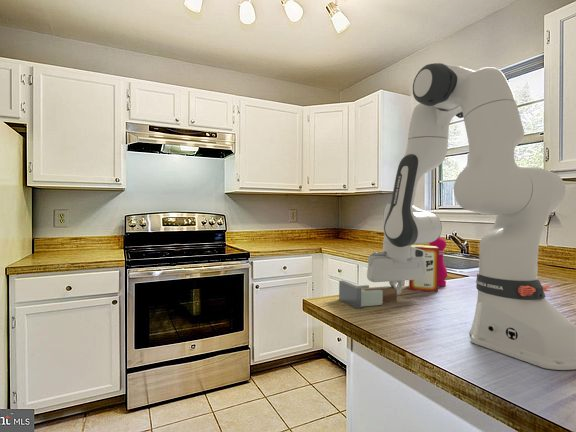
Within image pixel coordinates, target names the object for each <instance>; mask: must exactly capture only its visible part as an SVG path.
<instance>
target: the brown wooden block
mask: <svg viewBox="0 0 576 432" xmlns="http://www.w3.org/2000/svg"><path fill="white" fill-rule="evenodd" d="M361 289H363V290H366V291H369V290H383V302H382V304H383V303H384V304H385V303H393V302H394V303H395V302H397V299H398V297H397V296H398V295H397V289H396V288H393V287H391V286H390V285H388V286H375V287H369V288H361Z"/></svg>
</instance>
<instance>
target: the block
mask: <svg viewBox="0 0 576 432" xmlns="http://www.w3.org/2000/svg"><path fill="white" fill-rule="evenodd" d="M354 285H355V286H358V287H360V288H370V285H369V284H354ZM382 302H383V290H369V291H366V290H363V289H361V308H363V307H370V306H371V307H372V306H381V305H383V303H382Z"/></svg>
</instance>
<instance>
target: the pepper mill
mask: <svg viewBox="0 0 576 432" xmlns="http://www.w3.org/2000/svg"><path fill="white" fill-rule="evenodd" d="M428 244H429V245H428V246H437V247H438V248H439V267H438V286H444V287H446V286H447V281H446V280H445V279H447V277H448V270H447V268H446V266H445V263H444V255H445V254H446V253H445V249H446V247H447V242H446V240H445V239H444V238H442V237H441V235H440V236H439V238H438V239H437V240H435V241H433V242H430V243H428Z"/></svg>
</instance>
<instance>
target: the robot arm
mask: <svg viewBox="0 0 576 432" xmlns="http://www.w3.org/2000/svg"><path fill="white" fill-rule="evenodd" d="M510 85H511V84H510V83H509V81H508V80H507V78H506V76H505V74H504V73H503V72H502V71H501V70H500V69H499V68H496V67H492V66H491V67H488V66H487V67H482V68H479V69H477V70H473V69H469V68H466V67H463V66H460V65H453V64H445V63H442V62H441V63H440V62H437V63H435V62H434V63H428V64H426V65H424V66H423V67H422V68H420V70H419V71H418V72H417V74H416V75H415V77H414V79H413V83H412V94H413V98H414V99H415V101H416V102H418V104H417V105H416V106H415V107H414V109H413V110H412V113H411V118H410V122H409V128H408V135H407V145H406V150H405V154H404V156H403V157H402V159H400V161H399V164H398V166H397V170H396V176H395V180H394V185H393V191H392V195H391V201H390V202H389V203H387V204H386V206H385V208H384V212H383V220H382V222H383V227H382V228H383V233H384V236H383V239H382V251H377V252H375V251H372V253H371V254H369V255H368V258H367V259H368V262H367V271H366V279H367V280H368V281H369V282H372V283H383V282H384V283H385V282H388V283H389V286H390V287H393V288H396V289H397V296H398V295H401V294H402V289H403V287H404V285H405V281H409V280H418V279H424V278H425V277H426V261H425V259H424V258H423V257H425V251H424V250H421V249H418V248H415V247H412V245H425V244H429V243H430V242H433V241H435V240H437V239H438V238H439V236H440V237H441V233H442V230H443V228H442V226H443V225H442V222H441V220H440V218H439V217H438V215H436V214H435V213H433V212H430V211H427V210H423V209H421V208H419V207H416V205H414V204H415V203H414V202H415V197H416V191H417V186H418V184H419V181H420V179H421V178H422V177H423V176H424V175H426V173H429V172H430V171H433V170H436V168H438V167H439V166H440V165H441V164H442V163H444V161H445V160H446V156H447V153H448V147H449V134H450V133H449V132H450V131H449V130H450V123H451V121H452V119H454V117H457V118H458V119H462V118H463V121H464V122H463V123H464V126H465V132H466V135H467V136H466V137H467V141H468V149H469V151H468V152H469V153H468V158H467V163H466V166H465V167H464V169H463V170H461V171H460V173H459V174H458V175H457V176H456V179H455V181H454V185H453V194H454V195H453V196H454V198H455V201H456V202H457V204H458V206H459V207H460V208H461V209H464V210H466V211H470V212H473V213H477V214H481V215H496V219H495V221H494V223H493V225H492V228H491V229H490V230H489V232H487V233H486V234H484V235H483V236H482V237H481V239H480V241H479V249H478V251H479V252H478V254H479V255H478V273H477V274H476V280H475V283H476V287H475V288H476V289H477V299H476V304H475V305H476V307H475V311H474V316H473V322H472V325H471V328H470V330H469V335H470V342H471V343H472V344H475V345H477V346H481V347H483V348H487V349H489V350H491V351H494V352H498V353H500V354H503V355H506V356H508V357H512V358H515V359H517V360H520V361H524V362H526V363H529V364H531V365H535V366H537V367H540V368H543V369H547V370H548V369H549V370H554V371H555V370H556V371H557V370H559V371H567V370H568V371H569V370H570V371H571V370H576V325H575V323H573V322H572V321H571V320H569V319H568V318H567V317H566V316H565V315H564V314H563V313H562V312H560V311H559V310H558V309H557V308H556V307H555V306H554V305H553V304H552V303H551V302H550V301H549V300H547V298H546V294H545V292H550V291H551V289H549V288H551V285H542V283H541V281H540V279H539V278H538V264H539V263H538V262H539V261H538V260H539V247H540V241H541V237H542V234H543V231H544V228H545V226H546V223H547V221H548V218H549V217H550V215H551V214H552V212H553V211H554V210H555V209H557V207H558V206H559V205H561V203H562V202H563V200H564V197H565V195H566V185H565V182H564V180H563V179H562V178H561V176H559V175H558V174H557V173H555V172H553V171H550V170H548V169H545V168H542V167H539V166H526V165H518V164H517V162H516V161H515V149H516V148H517V146H518V145H519V144H520V143H522V142H523V139H524V136H525V129H524V126H523V122H522V119H521V115H520V112H519V108H518V104H517V101H516V98H515V95H514V92H513V89H512V88H511V86H510Z"/></svg>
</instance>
